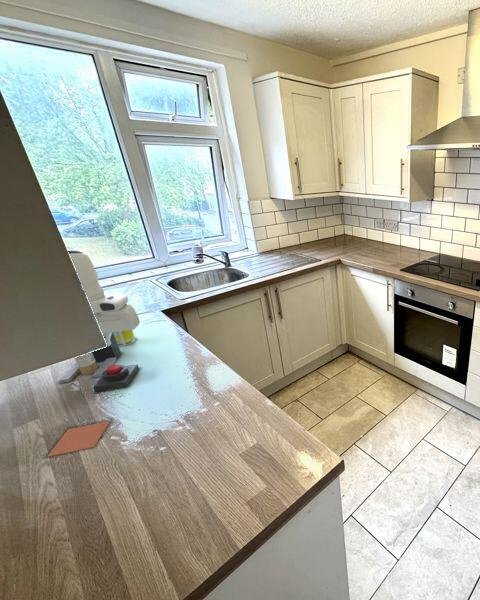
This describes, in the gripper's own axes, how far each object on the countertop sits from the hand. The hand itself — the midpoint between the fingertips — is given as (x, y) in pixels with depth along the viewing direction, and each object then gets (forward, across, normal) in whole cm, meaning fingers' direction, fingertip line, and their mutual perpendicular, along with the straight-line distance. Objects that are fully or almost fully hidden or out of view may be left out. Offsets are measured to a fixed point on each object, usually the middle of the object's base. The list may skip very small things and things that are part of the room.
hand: (104, 345), depth 98 cm
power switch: (+13, 0, 0) cm, 13 cm away
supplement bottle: (+13, -7, +27) cm, 31 cm away
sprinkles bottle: (+13, -11, +9) cm, 19 cm away
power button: (+9, 0, 0) cm, 9 cm away
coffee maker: (+13, -11, +11) cm, 20 cm away
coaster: (+13, +1, -25) cm, 28 cm away
